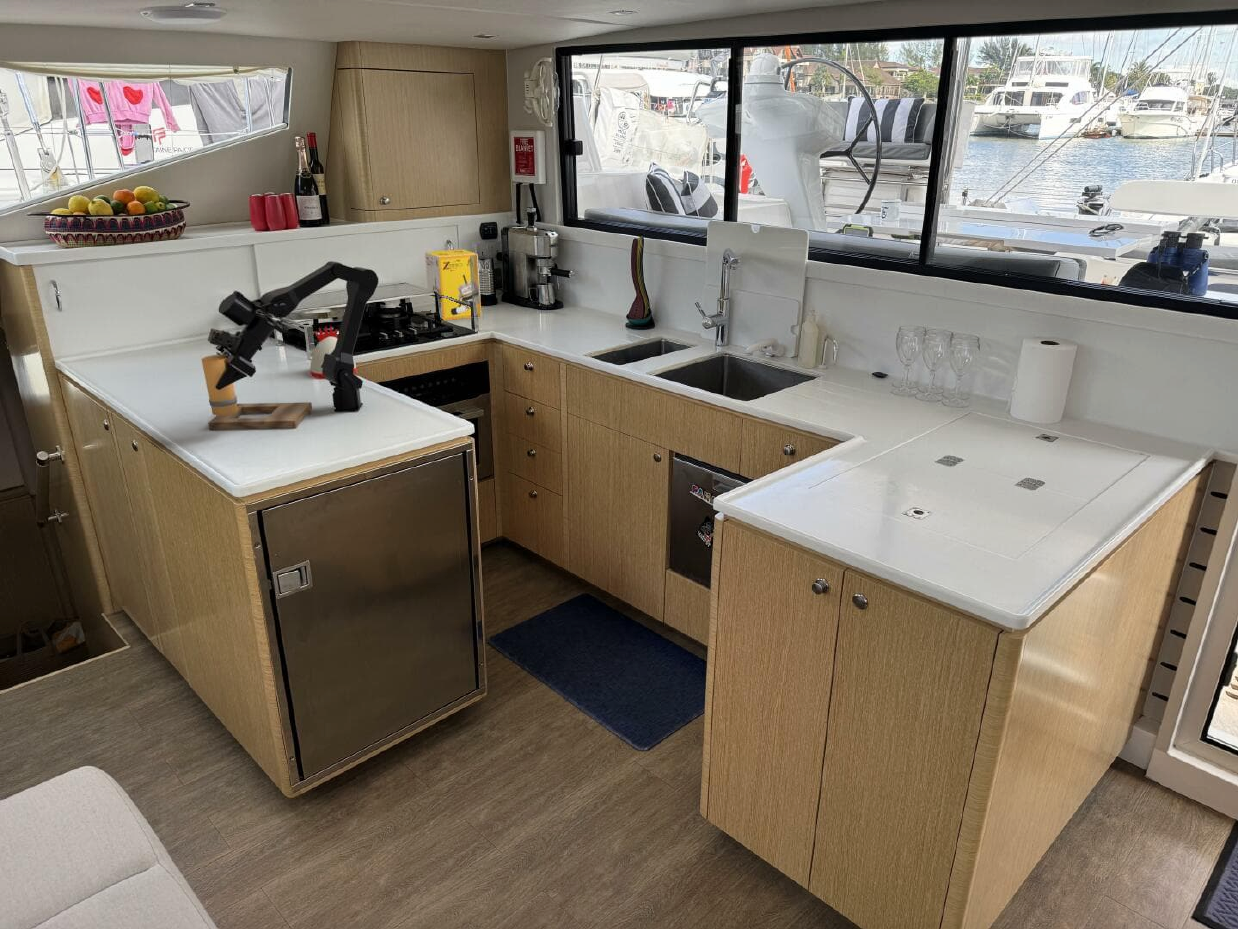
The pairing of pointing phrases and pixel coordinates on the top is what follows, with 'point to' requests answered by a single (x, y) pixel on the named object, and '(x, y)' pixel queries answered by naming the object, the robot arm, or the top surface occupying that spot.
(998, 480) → the top surface
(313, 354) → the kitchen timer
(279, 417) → the wooden frame
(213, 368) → the orange round cylinder
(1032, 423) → the top surface
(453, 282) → the packaging box
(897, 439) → the top surface
